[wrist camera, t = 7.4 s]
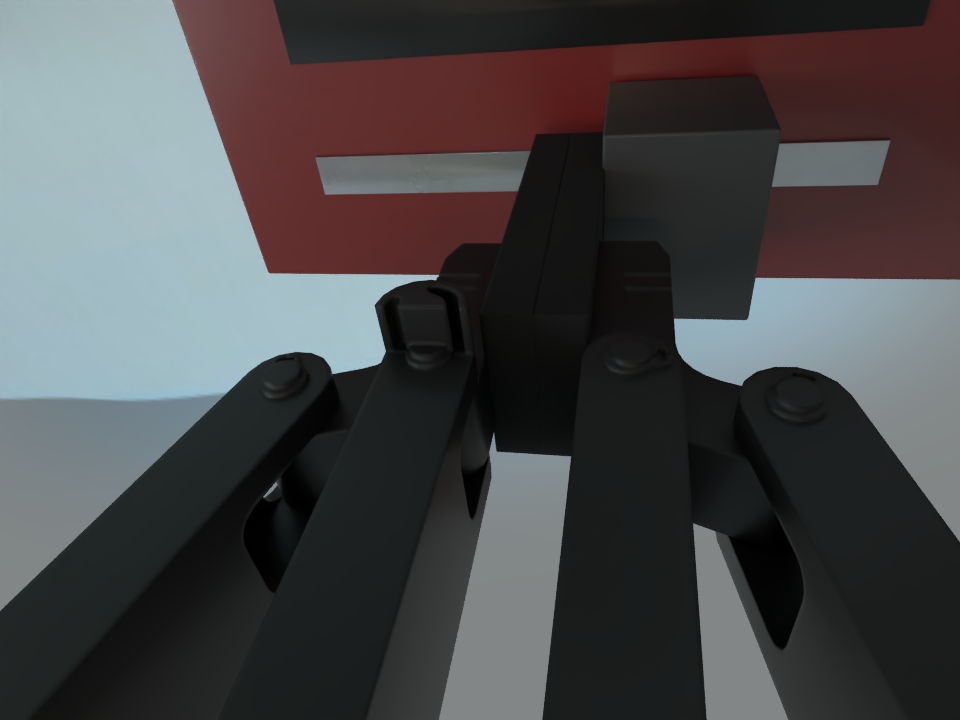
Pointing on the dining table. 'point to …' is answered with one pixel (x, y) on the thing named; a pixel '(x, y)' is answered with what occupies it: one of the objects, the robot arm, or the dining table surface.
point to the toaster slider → (693, 183)
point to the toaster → (575, 119)
